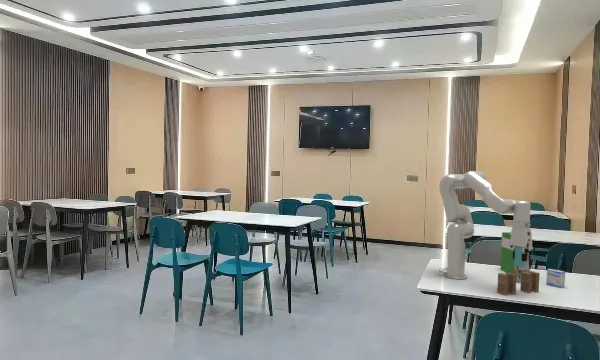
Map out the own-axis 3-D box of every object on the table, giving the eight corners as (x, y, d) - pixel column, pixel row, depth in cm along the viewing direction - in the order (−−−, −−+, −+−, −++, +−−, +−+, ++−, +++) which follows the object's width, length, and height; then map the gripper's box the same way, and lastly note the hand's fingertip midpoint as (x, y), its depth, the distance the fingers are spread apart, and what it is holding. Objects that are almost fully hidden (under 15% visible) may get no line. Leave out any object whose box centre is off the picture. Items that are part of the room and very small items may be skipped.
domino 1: (504, 295, 221) (505, 275, 221) (497, 292, 226) (498, 273, 226) (507, 294, 222) (508, 275, 222) (500, 292, 227) (501, 272, 226)
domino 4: (535, 292, 229) (536, 273, 228) (527, 289, 233) (528, 271, 233) (538, 292, 229) (539, 273, 229) (530, 289, 234) (531, 270, 234)
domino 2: (512, 294, 223) (513, 274, 223) (505, 291, 228) (505, 272, 228) (515, 294, 224) (516, 274, 224) (507, 291, 229) (508, 272, 228)
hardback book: (527, 276, 263) (529, 236, 262) (515, 276, 263) (517, 236, 262) (511, 270, 281) (513, 232, 280) (500, 269, 280) (502, 232, 280)
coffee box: (529, 283, 246) (531, 255, 246) (517, 282, 248) (518, 254, 247) (525, 280, 255) (526, 252, 255) (513, 279, 256) (514, 251, 256)
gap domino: (517, 265, 230) (517, 246, 230) (524, 267, 225) (525, 247, 225) (514, 265, 229) (514, 246, 229) (521, 267, 225) (522, 247, 224)
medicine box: (545, 284, 246) (546, 269, 245) (549, 283, 248) (550, 268, 248) (560, 288, 239) (561, 272, 239) (564, 287, 242) (565, 271, 242)
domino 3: (528, 293, 227) (529, 273, 227) (520, 290, 232) (521, 271, 231) (531, 292, 228) (532, 273, 227) (523, 290, 232) (524, 271, 232)
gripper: (541, 226, 220) (539, 263, 221) (513, 222, 236) (512, 256, 237) (529, 227, 217) (528, 263, 218) (502, 222, 233) (501, 257, 234)
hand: (519, 259), depth 227 cm, fingers closed on gap domino, 4 cm apart
